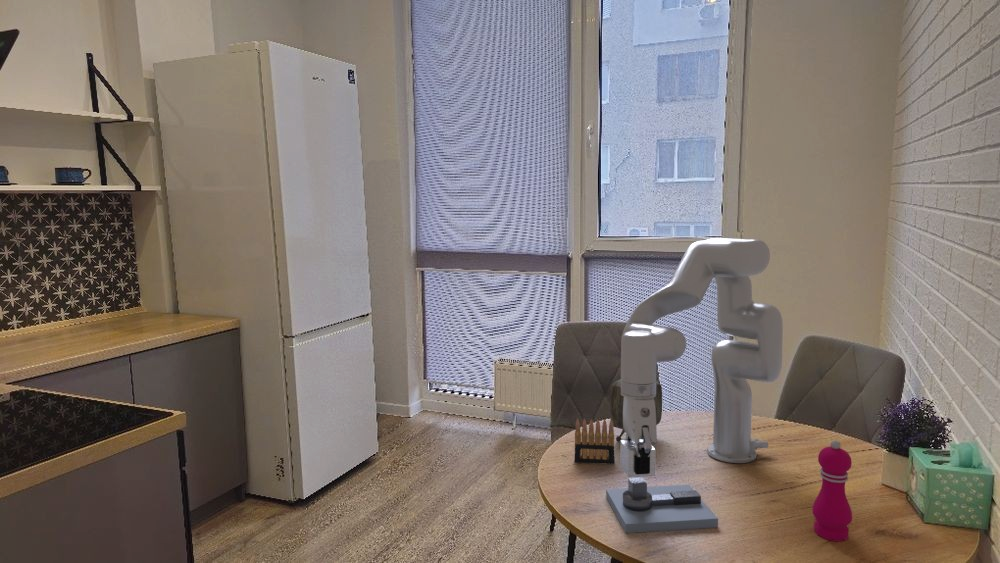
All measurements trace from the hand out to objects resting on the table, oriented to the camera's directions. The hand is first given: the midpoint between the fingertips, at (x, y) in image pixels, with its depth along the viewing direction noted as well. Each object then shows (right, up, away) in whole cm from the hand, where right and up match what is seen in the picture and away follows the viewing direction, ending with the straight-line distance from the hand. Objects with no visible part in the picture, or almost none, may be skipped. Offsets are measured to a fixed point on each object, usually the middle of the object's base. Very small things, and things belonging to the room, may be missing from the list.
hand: (637, 466), depth 136 cm
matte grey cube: (0, -1, 0) cm, 1 cm away
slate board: (+5, -11, +2) cm, 12 cm away
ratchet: (+6, -9, +2) cm, 10 cm away
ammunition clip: (-5, -8, +29) cm, 30 cm away
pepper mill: (+38, -12, -8) cm, 41 cm away
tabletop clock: (+10, -6, +44) cm, 45 cm away
